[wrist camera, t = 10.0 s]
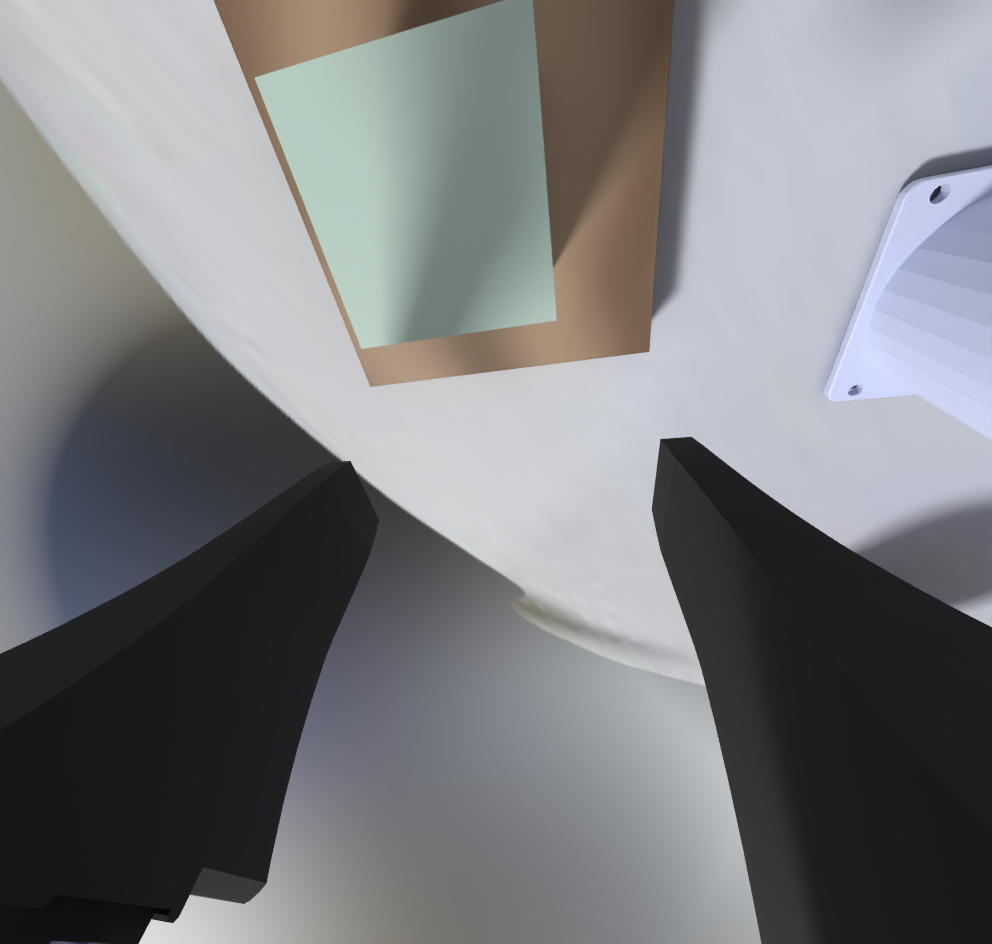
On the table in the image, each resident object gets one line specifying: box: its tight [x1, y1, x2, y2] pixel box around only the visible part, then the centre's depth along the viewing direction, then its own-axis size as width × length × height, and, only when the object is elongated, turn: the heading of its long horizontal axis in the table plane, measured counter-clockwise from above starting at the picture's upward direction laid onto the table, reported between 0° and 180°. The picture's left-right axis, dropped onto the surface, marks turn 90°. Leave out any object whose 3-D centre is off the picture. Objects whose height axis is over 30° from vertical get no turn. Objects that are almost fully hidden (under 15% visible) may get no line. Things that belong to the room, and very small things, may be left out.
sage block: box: [255, 0, 557, 349], centre depth 10 cm, size 5×5×6 cm
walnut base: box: [214, 0, 674, 387], centre depth 13 cm, size 12×12×2 cm
